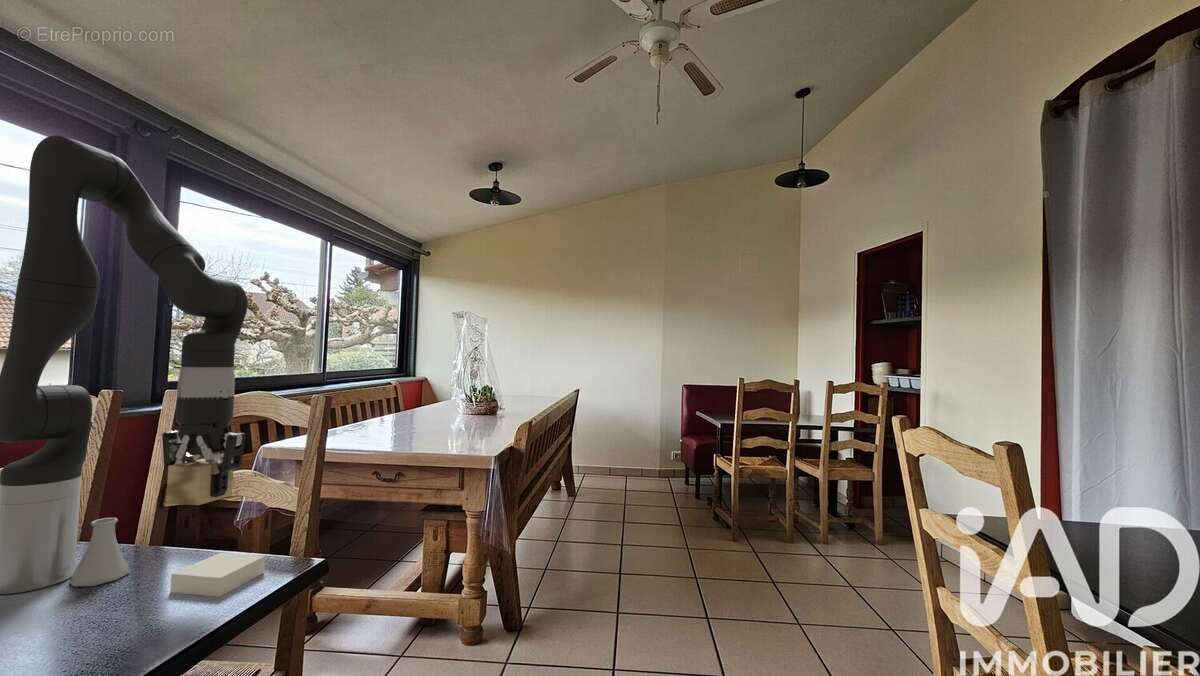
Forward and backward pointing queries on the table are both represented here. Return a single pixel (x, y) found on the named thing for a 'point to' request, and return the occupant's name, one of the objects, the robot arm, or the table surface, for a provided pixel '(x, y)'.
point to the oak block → (193, 483)
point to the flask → (101, 557)
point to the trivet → (217, 574)
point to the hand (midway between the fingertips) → (200, 494)
